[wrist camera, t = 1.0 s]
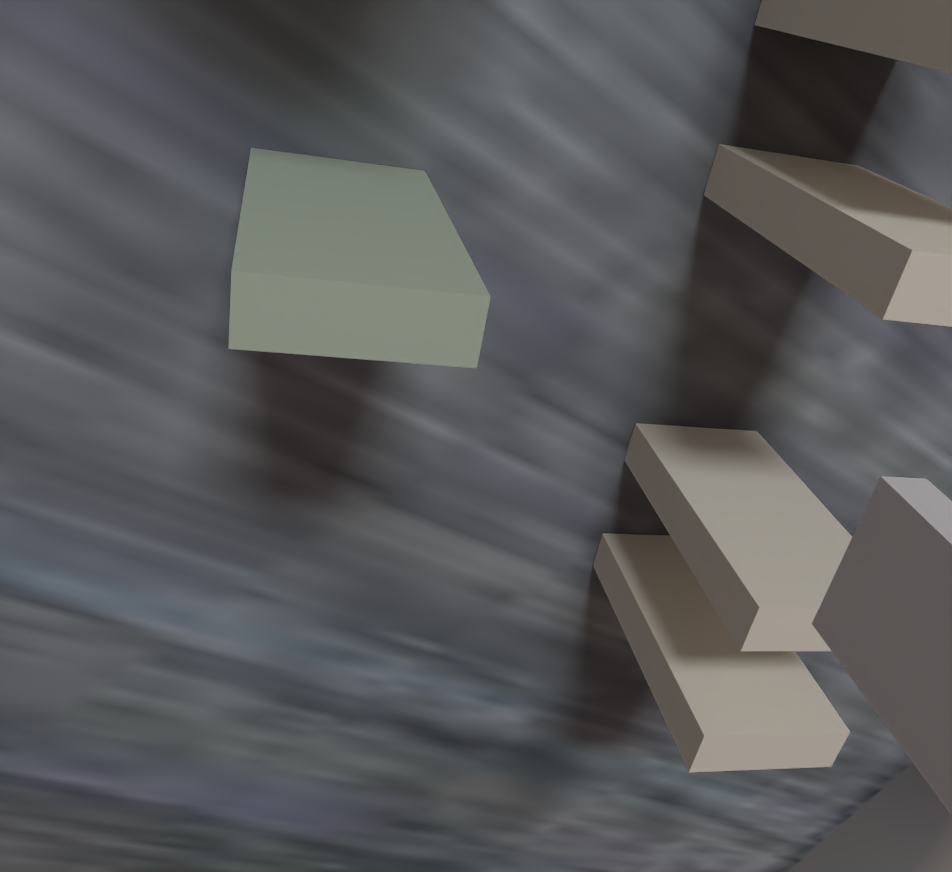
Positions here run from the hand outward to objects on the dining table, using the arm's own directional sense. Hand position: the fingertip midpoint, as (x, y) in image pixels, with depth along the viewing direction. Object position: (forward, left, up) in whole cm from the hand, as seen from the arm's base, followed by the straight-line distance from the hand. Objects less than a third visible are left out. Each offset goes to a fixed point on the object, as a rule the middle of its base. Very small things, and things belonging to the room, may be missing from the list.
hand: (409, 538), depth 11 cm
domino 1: (0, 0, -17) cm, 17 cm away
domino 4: (+14, -8, -17) cm, 23 cm away
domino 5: (+14, -13, -17) cm, 26 cm away
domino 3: (+14, +2, -17) cm, 22 cm away
